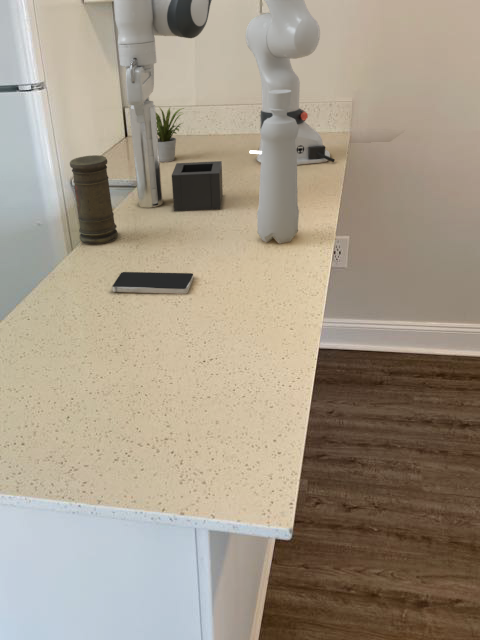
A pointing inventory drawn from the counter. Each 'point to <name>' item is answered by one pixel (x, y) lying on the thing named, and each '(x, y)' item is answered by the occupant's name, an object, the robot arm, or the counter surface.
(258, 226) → the bottle
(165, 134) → the house plant
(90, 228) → the container
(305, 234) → the counter surface
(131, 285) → the smartphone
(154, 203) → the silver tall cylinder
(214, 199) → the box
